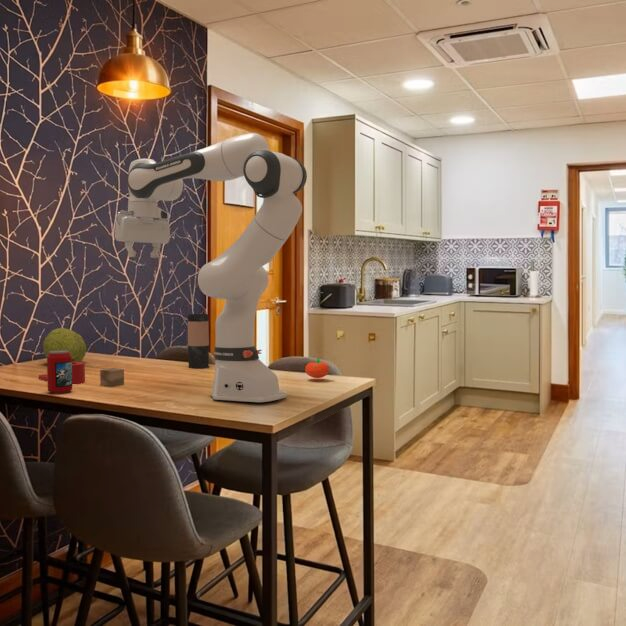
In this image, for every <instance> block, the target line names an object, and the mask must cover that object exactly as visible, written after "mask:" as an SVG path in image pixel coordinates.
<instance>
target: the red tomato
mask: <svg viewBox="0 0 626 626" xmlns="http://www.w3.org/2000/svg"><path fill="white" fill-rule="evenodd" d="M304 369H305V370H304V371H305V373H306V375H307V376H309V377H311V378H314V379H320V378H321V379H322V378H324V377H326V376H327V375H328V374H329V373H330V366H329V365H328V364H327V363H326V362H322V361H321V362H320V358H316V361H315V362H313V361H312V362H308V363H307V364H306V366H305V368H304Z"/></svg>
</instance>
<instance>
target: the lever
mask: <svg viewBox="0 0 626 626" xmlns="http://www.w3.org/2000/svg"><path fill="white" fill-rule="evenodd" d="M85 366H86V362H83V361H81V362H72V384H77V385H82V384H85V383H86V367H85ZM39 379H41V380H40V381H43V380H44V381H43V382H46V381H47V374H46V373H45V374H39V375H38V380H39ZM84 382H85V383H84ZM81 383H82V384H81Z"/></svg>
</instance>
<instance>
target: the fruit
mask: <svg viewBox="0 0 626 626" xmlns="http://www.w3.org/2000/svg"><path fill="white" fill-rule="evenodd" d="M42 346H43V347H42V348H43V349H42V350H43V353H44V356H45V357H46V358H47V357H48V355H49V352H50V351H59V350H66V351H69V353H70V355H71V356H72V362H83V360H84V358H85V356H86V354H87V348H88V347H87V345H86V343H85V340H84V338H83V336H81V334H79V333H77V332H75V331H74V330H73V329H69V328H65V327H60V328H59V327H58V328H55V329H52V330H51V331H50V332H49V333H48V334H47V335H46V337H45V338H44V340H43V344H42Z"/></svg>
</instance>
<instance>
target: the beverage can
mask: <svg viewBox="0 0 626 626" xmlns="http://www.w3.org/2000/svg"><path fill="white" fill-rule="evenodd" d="M46 363H47V364H46V373H47V381H48V382H47V391H48V392H49V393H51V394H53V393H55V394H56V395H59V394H62V395H63V394H66V393H69V392H71V391H72V390H73V385H72V356H71V355H70V353H69V351H66V350H59V351H50V352H49V355H48V357H46ZM55 394H54V395H55Z"/></svg>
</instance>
